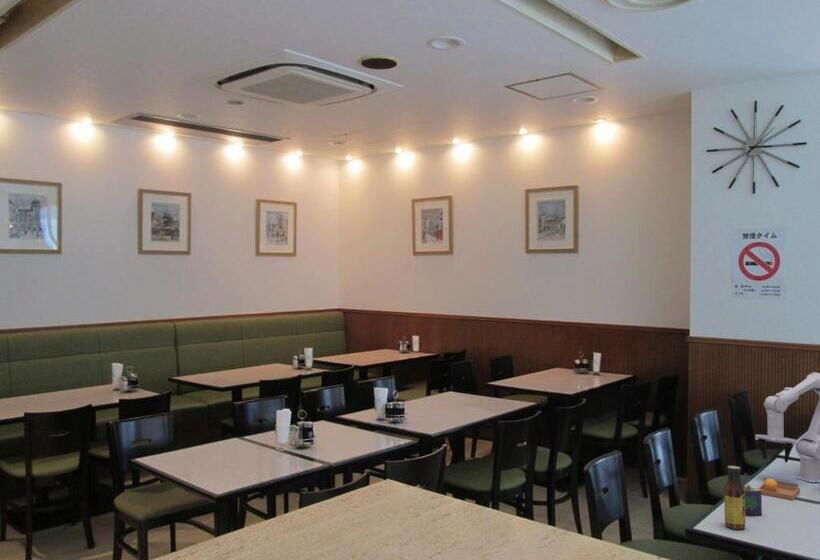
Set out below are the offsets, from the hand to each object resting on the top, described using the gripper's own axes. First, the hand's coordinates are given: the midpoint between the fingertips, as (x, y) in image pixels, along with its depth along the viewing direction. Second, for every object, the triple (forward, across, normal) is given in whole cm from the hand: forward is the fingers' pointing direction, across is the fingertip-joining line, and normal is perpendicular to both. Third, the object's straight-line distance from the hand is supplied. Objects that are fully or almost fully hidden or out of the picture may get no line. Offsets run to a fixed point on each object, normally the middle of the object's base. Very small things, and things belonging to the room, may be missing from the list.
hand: (775, 460), depth 269 cm
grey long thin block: (+9, +3, -6) cm, 12 cm away
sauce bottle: (+10, +1, -61) cm, 62 cm away
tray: (+9, +4, -13) cm, 16 cm away
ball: (+7, +1, -13) cm, 15 cm away
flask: (+10, +2, -46) cm, 47 cm away
